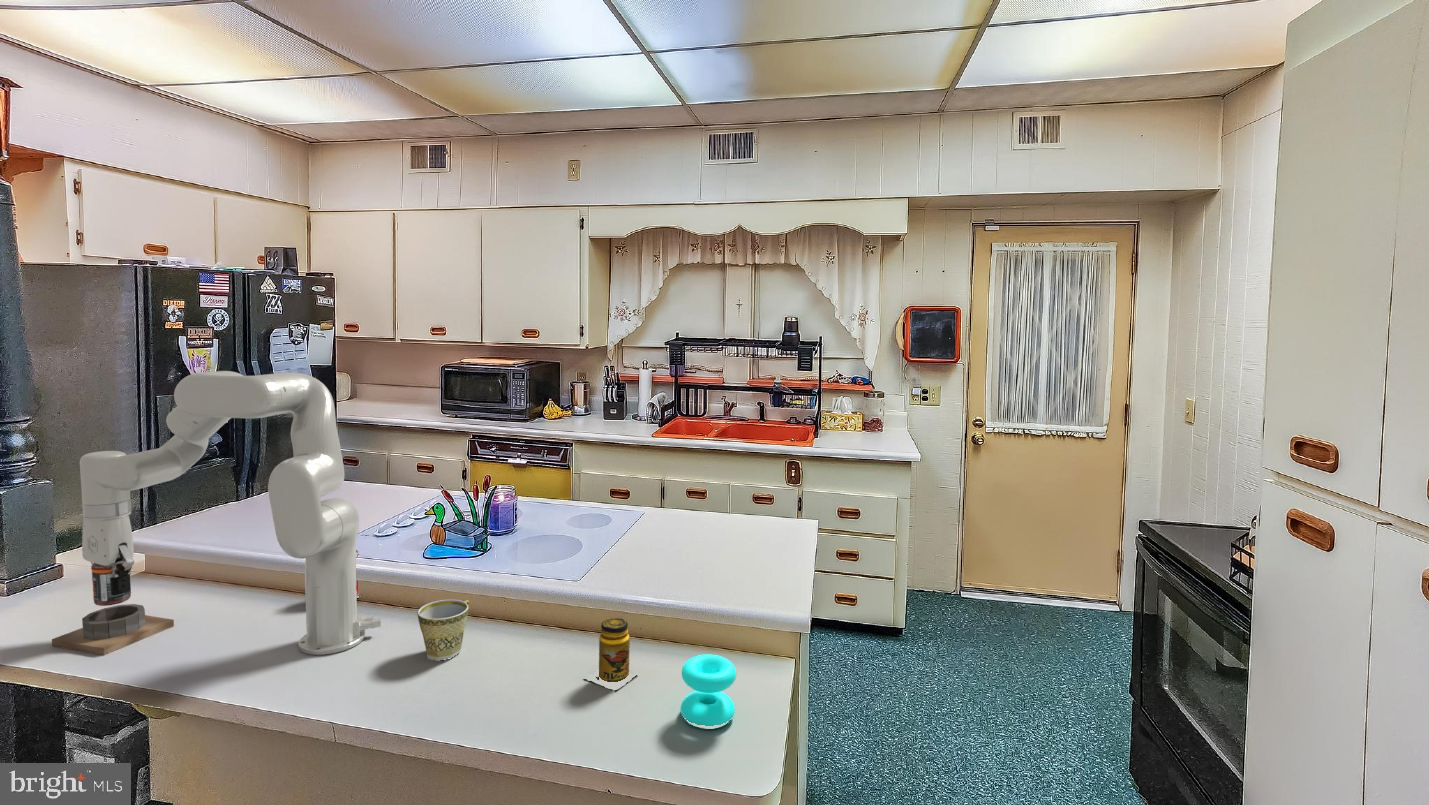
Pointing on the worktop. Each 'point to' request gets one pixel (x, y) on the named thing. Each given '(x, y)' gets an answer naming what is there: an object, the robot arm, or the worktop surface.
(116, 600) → the supplement bottle
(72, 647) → the ring holder
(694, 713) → the donuts
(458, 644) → the ceramic cup
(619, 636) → the condiment
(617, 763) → the worktop surface
